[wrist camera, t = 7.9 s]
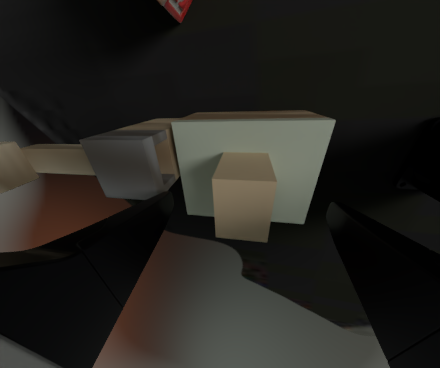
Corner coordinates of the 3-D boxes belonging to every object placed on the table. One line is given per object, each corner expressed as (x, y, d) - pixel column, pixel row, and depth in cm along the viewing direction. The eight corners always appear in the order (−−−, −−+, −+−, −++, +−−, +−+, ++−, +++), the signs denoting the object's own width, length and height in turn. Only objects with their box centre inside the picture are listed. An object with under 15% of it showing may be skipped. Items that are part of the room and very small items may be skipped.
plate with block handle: (300, 215, 14) (323, 271, 10) (191, 207, 15) (168, 251, 11) (328, 117, 10) (389, 136, 6) (177, 119, 11) (133, 136, 7)
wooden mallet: (141, 175, 13) (83, 219, 8) (37, 170, 14) (-58, 205, 10) (129, 138, 11) (50, 167, 7) (14, 137, 13) (-109, 161, 8)
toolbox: (288, 186, 18) (315, 254, 11) (170, 180, 20) (123, 232, 13) (304, 110, 14) (367, 129, 7) (155, 113, 16) (74, 131, 9)
